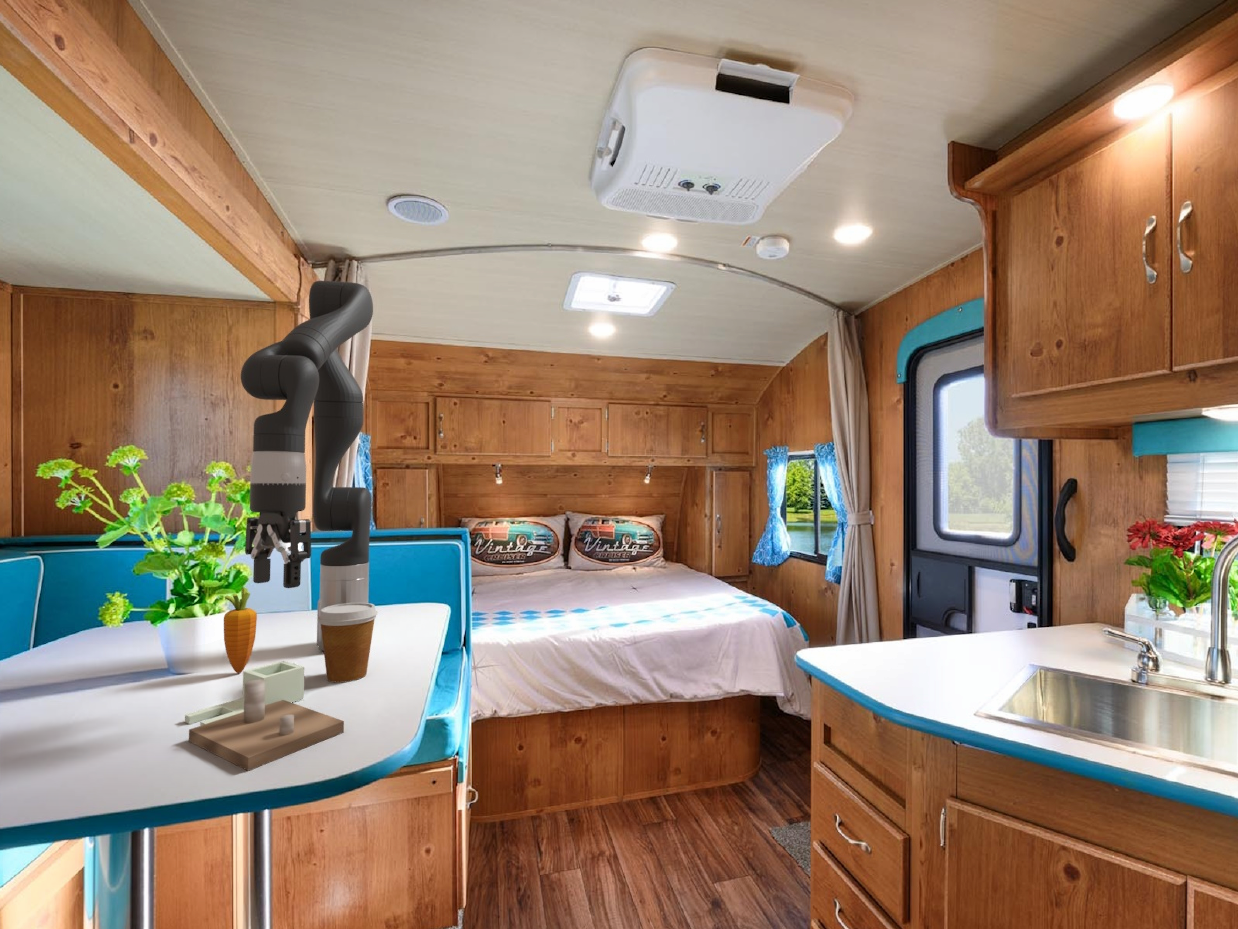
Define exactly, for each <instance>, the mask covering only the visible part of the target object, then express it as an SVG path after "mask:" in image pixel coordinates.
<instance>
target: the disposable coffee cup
mask: <svg viewBox="0 0 1238 929" xmlns="http://www.w3.org/2000/svg"><path fill="white" fill-rule="evenodd" d="M377 615H378V611H377V610H376V606H375V604H373V603H369V602H368V603H346V604H338V605H332V606H328V607H325V608H323V609H321V613H320V616H318V620H319V623H320V624H321V631H322V640H323V648H324V651H323V656H324V665H325V673H326V680H327V681H328V682H331V683H346V682H345V681H348V682H353V681H357V680H359V678H360V679H362V678H364V677H365V676H366V675H367V672H368V666H369V659H370V652H371V645H372V639H373V638H372V637H373V631H374V624H375V620H376V618H377Z"/></svg>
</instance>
